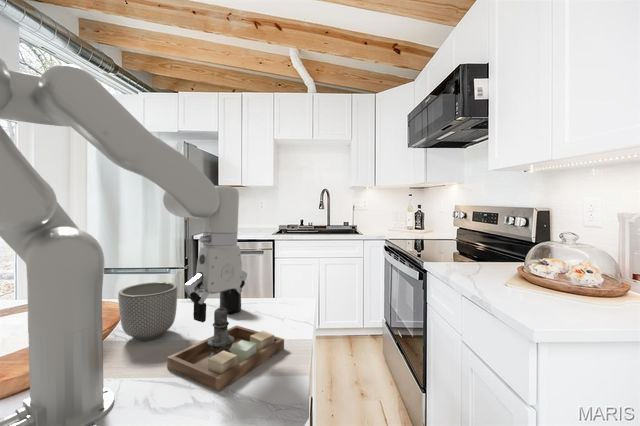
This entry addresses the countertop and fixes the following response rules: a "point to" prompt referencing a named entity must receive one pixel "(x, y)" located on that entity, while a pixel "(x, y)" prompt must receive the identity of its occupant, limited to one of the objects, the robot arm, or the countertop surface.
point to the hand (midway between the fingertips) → (217, 314)
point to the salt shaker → (220, 333)
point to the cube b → (244, 350)
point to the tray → (196, 356)
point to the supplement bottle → (225, 302)
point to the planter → (147, 309)
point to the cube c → (262, 339)
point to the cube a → (222, 362)
